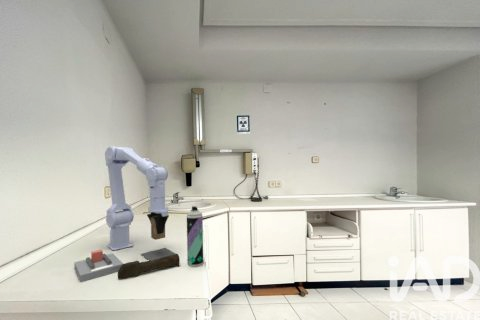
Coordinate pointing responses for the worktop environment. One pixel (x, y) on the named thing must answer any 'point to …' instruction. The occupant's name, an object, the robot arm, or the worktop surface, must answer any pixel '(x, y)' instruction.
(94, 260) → the lever
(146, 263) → the hand tool
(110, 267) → the panel
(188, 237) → the spray can
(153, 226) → the tan wooden post
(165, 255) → the mat
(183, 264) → the worktop surface
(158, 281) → the worktop surface
